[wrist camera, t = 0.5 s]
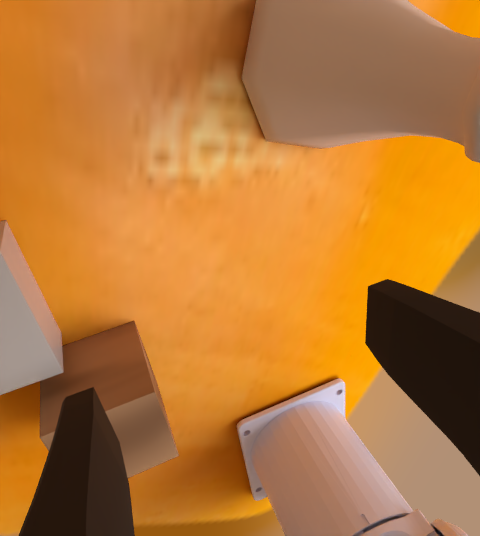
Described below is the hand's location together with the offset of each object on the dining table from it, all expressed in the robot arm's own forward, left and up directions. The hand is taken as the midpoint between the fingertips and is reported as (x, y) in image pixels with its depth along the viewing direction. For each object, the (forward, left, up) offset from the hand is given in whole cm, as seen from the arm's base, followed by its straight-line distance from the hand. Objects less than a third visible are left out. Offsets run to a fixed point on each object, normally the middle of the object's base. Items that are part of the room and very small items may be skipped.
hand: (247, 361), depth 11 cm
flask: (+4, -8, -10) cm, 14 cm away
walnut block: (-8, +5, -10) cm, 14 cm away
